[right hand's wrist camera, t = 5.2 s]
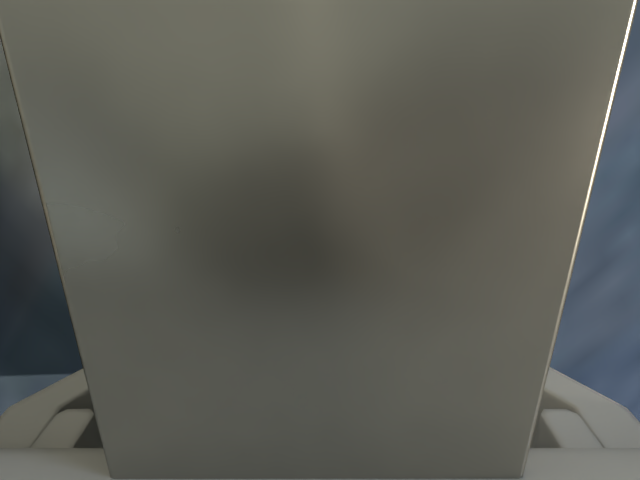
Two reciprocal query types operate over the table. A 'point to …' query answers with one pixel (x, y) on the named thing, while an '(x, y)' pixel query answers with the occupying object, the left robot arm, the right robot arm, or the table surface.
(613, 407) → the right robot arm
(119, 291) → the bar
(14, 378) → the table surface
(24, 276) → the table surface
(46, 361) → the table surface
